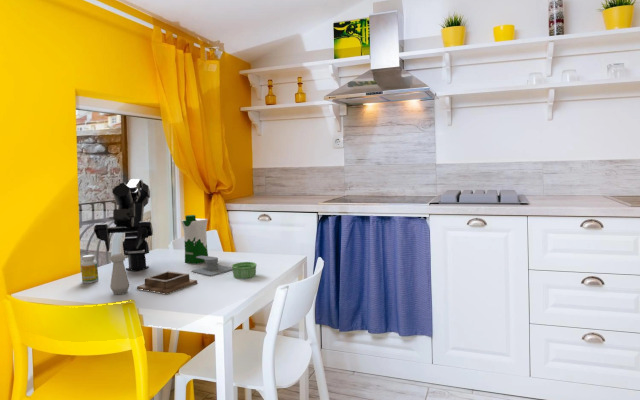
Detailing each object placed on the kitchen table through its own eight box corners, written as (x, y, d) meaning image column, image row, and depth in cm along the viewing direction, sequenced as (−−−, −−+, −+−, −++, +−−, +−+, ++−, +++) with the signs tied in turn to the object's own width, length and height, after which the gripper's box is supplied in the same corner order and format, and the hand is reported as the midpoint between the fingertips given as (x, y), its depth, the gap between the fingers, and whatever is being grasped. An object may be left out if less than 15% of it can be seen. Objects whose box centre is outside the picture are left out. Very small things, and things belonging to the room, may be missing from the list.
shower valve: (210, 252, 188) (235, 256, 179) (211, 265, 189) (236, 270, 180) (185, 258, 179) (210, 263, 169) (186, 272, 179) (210, 277, 170)
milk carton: (181, 262, 194) (178, 215, 192) (197, 258, 201) (195, 213, 199) (196, 265, 189) (193, 216, 187) (212, 260, 196) (209, 214, 194)
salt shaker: (114, 290, 156) (111, 252, 154) (132, 289, 156) (129, 252, 155) (108, 295, 150) (105, 256, 148) (126, 294, 150) (123, 255, 149)
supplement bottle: (82, 280, 170) (80, 255, 169) (98, 278, 172) (96, 253, 171) (82, 284, 165) (79, 258, 164) (98, 282, 167) (96, 256, 166)
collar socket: (137, 289, 156) (136, 279, 156) (168, 278, 168) (168, 269, 168) (166, 294, 149) (165, 283, 149) (197, 283, 162) (196, 273, 161)
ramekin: (245, 281, 163) (245, 268, 162) (227, 277, 168) (226, 266, 167) (261, 274, 170) (261, 263, 170) (243, 272, 175) (243, 260, 175)
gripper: (93, 201, 160) (86, 238, 151) (149, 198, 164) (146, 234, 155) (100, 220, 169) (95, 256, 159) (153, 217, 173) (151, 252, 163)
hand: (122, 249), depth 159 cm, fingers open, 9 cm apart
